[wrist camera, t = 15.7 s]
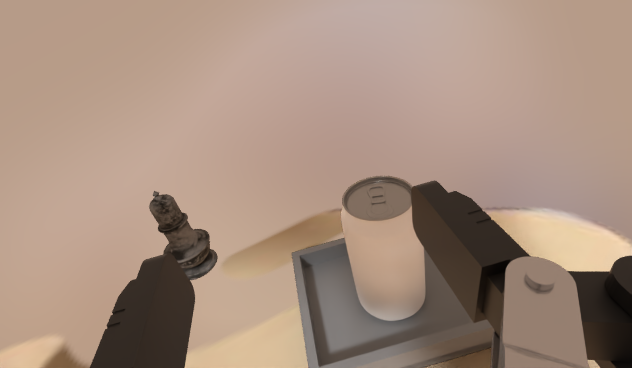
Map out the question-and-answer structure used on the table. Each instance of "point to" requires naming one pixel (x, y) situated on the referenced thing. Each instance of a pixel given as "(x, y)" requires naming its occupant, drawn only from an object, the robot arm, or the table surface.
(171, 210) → the salt shaker
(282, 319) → the table surface
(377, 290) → the can
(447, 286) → the tray
